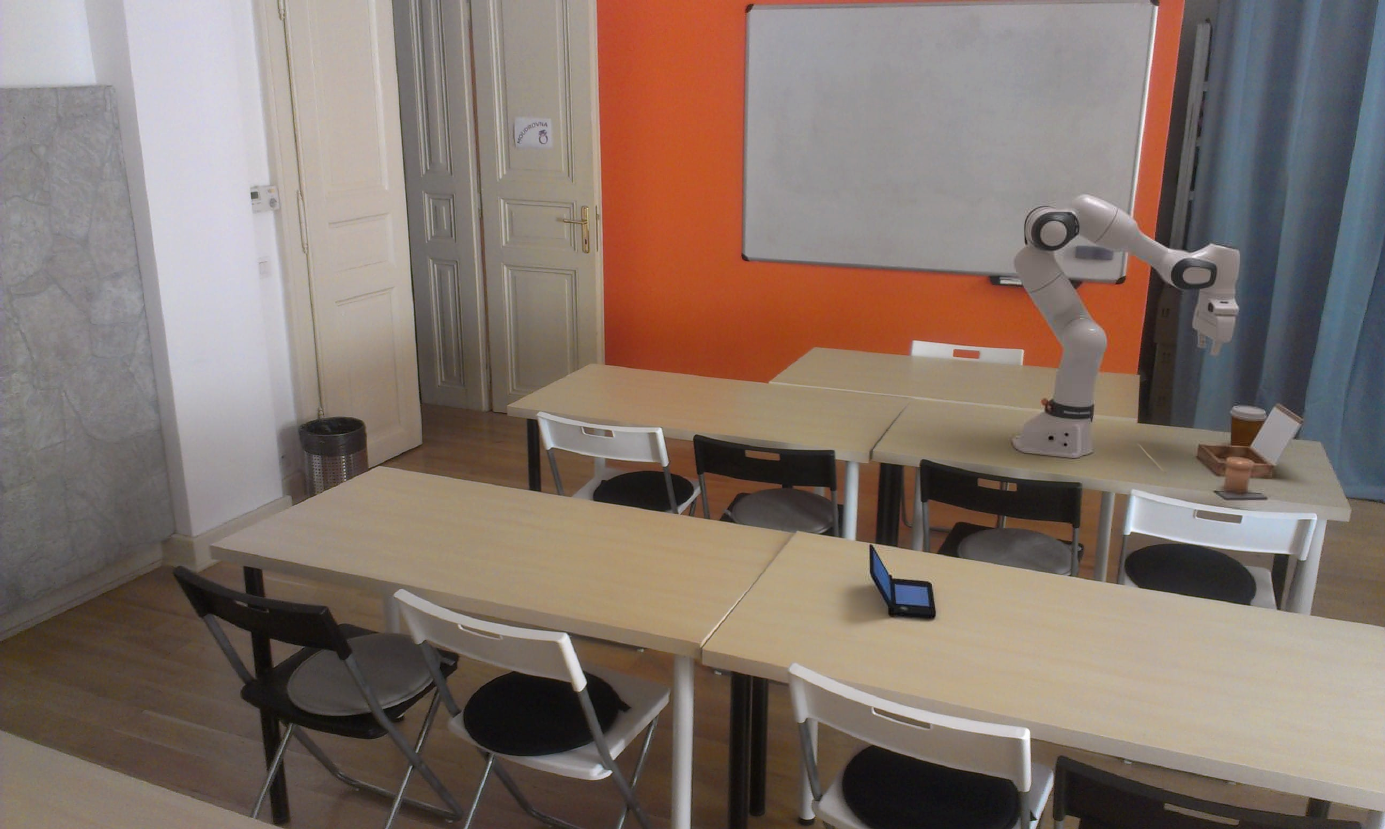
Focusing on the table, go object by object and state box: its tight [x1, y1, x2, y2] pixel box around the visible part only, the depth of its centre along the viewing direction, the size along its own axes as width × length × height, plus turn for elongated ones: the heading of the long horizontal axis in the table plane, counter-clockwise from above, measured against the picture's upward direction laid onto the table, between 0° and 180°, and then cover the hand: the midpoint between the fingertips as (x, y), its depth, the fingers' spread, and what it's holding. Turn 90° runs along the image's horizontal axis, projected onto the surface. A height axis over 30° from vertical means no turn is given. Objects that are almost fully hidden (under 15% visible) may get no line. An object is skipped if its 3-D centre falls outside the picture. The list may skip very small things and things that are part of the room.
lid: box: [1250, 402, 1306, 467], centre depth 282 cm, size 14×16×1 cm
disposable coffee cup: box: [1229, 405, 1268, 447], centre depth 302 cm, size 10×10×12 cm
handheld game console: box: [868, 543, 937, 620], centre depth 207 cm, size 16×13×9 cm
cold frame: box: [1196, 443, 1275, 480], centre depth 285 cm, size 14×16×4 cm
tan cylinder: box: [1223, 457, 1254, 494], centre depth 268 cm, size 6×6×8 cm
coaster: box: [1213, 490, 1269, 501], centre depth 270 cm, size 11×11×1 cm
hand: (1207, 351), depth 287 cm, fingers open, 8 cm apart
